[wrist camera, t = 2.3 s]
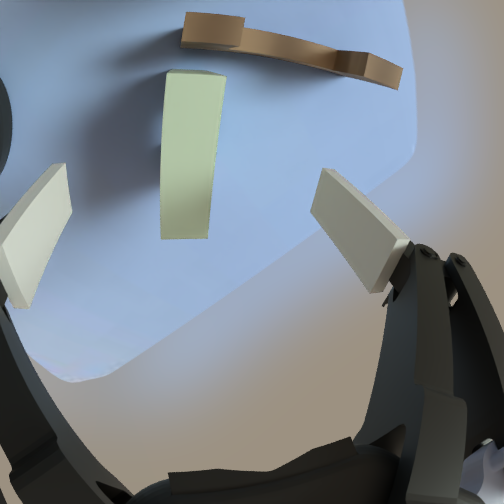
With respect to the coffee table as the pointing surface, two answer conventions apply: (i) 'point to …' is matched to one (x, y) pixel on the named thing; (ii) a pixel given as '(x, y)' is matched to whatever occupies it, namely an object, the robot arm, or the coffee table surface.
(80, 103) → the coffee table surface
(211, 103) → the pale green block
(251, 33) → the brown wooden bracket
